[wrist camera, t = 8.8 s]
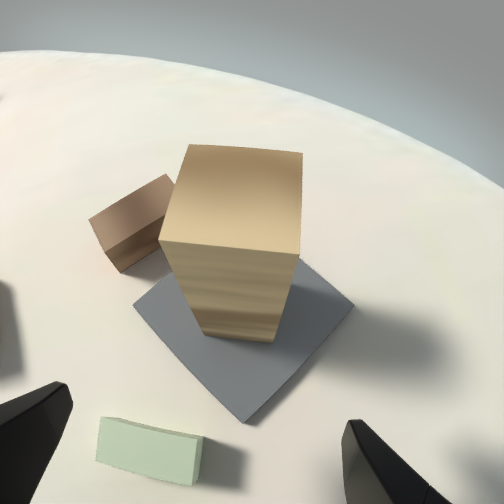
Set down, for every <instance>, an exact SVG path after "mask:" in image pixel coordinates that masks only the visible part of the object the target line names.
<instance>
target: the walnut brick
mask: <svg viewBox="0 0 504 504" xmlns="http://www.w3.org/2000/svg"><path fill="white" fill-rule="evenodd" d="M174 187H175V184H174V183H173V182H172V181H171V179H170V178H169V177H168V176H167V174H164V175H162V176H161V177H159V178H157V179H155V180H153V181H152V182H150V183H148V184H146V185H145V186H143V187H141V188H139V189H138V190H136V191H134V192H133V193H131V194H129V195H128V196H126V197H124V198H122V199H121V200H119V201H118V202H116V203H114V204H113V205H111V206H109V207H108V208H106V209H105V210H103V211H101V212H100V213H98V214H97V215H95V216H93V217H92V218H90V219H89V222H90V224H91V226H92V228H93V230H94V232H95V234H96V236H97V239H98V241H99V243H100V245H101V247H102V249H103V251H104V253H105V254H106V255H107V257H108V258H109V259H110V261H111V262H112V263H113V265H114V266H115V267H116V268H117V270H118V271H119V272H120V273H121V272H122V271H124V270H125V269H127V268H128V267H130V266H132V265H133V264H135V263H136V262H138V261H139V260H141V259H143V258H144V257H146V256H147V255H149V254H150V253H152V252H154V251H155V250H157V249H158V248H160V247H161V245H160V243H159V241H158V239H159V235H160V232H161V228H162V225H163V222H164V218H165V215H166V212H167V209H168V205H169V202H170V199H171V196H172V193H173V190H174Z"/></svg>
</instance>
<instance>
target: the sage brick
mask: <svg viewBox="0 0 504 504" xmlns="http://www.w3.org/2000/svg"><path fill="white" fill-rule="evenodd" d="M203 439H204V436H198V435H192V434H186V433H181V432H176V431H171V430H166V429H161V428H157V427H152V426H148V425H144V424H140V423H136V422H132V421H128V420H124V419H121V418H112V417H101V420H100V427H99V434H98V442H97V451H96V459H95V461H97V462H100V463H103V464H106V465H109V466H112V467H115V468H119V469H122V470H125V471H129V472H132V473H136V474H139V475H143V476H147V477H151V478H155V479H159V480H163V481H168V482H172V483H177V484H182V485H187V486H192V485H193V484H194V483H195V482H196V480H197V479H198V478H199V472H200V463H201V455H202V447H203Z"/></svg>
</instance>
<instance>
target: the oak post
mask: <svg viewBox="0 0 504 504" xmlns="http://www.w3.org/2000/svg"><path fill="white" fill-rule="evenodd" d="M302 160H303V153H298V152H289V151H279V150H269V149H258V148H246V147H232V146H215V145H193V144H189V146H188V149H187V152H186V154H185V157H184V160H183V163H182V166H181V169H180V172H179V175H178V178H177V181H176V184H175V187H174V190H173V193H172V196H171V199H170V202H169V205H168V209H167V212H166V215H165V218H164V222H163V225H162V228H161V232H160V235H159V239H158V241H159V243H160V245H161V247H162V250H163V252H164V254H165V256H166V258H167V261H168V263H169V265H170V267H171V269H172V271H173V273H174V276H175V278H176V280H177V282H178V284H179V286H180V288H181V290H182V292H183V294H184V296H185V298H186V300H187V302H188V304H189V306H190V308H191V310H192V312H193V314H194V316H195V318H196V320H197V322H198V324H199V326H200V328H201V330H202V332H203V334H204V335H207V336H215V337H223V338H231V339H239V340H248V341H257V342H267V343H273V341H274V338H275V334H276V331H277V328H278V325H279V322H280V319H281V315H282V312H283V309H284V306H285V302H286V299H287V296H288V292H289V289H290V286H291V282H292V279H293V276H294V272H295V269H296V265H297V262H298V259H299V255H300V236H301V207H302Z"/></svg>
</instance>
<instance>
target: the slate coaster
mask: <svg viewBox="0 0 504 504" xmlns="http://www.w3.org/2000/svg"><path fill="white" fill-rule="evenodd" d="M353 306H354V304H353V303H351V302H350V301H349V300H348V299H347V298H346V297H344V296H343V295H342V294H341V293H340V292H338V291H337V290H336V289H335V288H334V287H333V286H331V285H330V284H329V283H328V282H327V281H325V280H324V279H323V278H322V277H321V276H320V275H318V274H317V273H316V272H315V271H314V270H312V269H311V268H310V267H309V266H308V265H306V264H305V263H304V262H303V261H302V260H300V259H298V262H297V265H296V269H295V272H294V276H293V279H292V282H291V286H290V289H289V292H288V296H287V299H286V302H285V306H284V309H283V312H282V315H281V319H280V322H279V325H278V328H277V331H276V334H275V338H274V341H273V343H267V342H257V341H248V340H239V339H231V338H223V337H215V336H207V335H204V334H203V332H202V330H201V328H200V326H199V324H198V322H197V320H196V318H195V316H194V314H193V312H192V310H191V308H190V306H189V304H188V302H187V300H186V298H185V296H184V294H183V292H182V290H181V288H180V286H179V284H178V282H177V280H176V278H175V276H174V273H173V271H171V272H170V273H169V274H168V275H167V276H166V277H164V278H163V279H162V280H161V281H160V282H158V283H157V284H156V285H155V286H154V287H153V288H151V289H150V290H149V291H148V292H147V293H146V294H144V295H143V296H142V297H141V298H140V299H139V300H137V301H136V302H135V303H134V304H133V307H134V308H135V309H136V310H137V312H138V313H139V314H140V315H141V316H142V318H143V319H144V320H145V321H146V322H147V324H148V325H149V326H150V327H151V328H152V330H153V331H154V332H155V333H156V334H157V335H158V337H159V338H160V339H161V340H162V341H163V342H164V343H165V345H166V346H167V347H168V348H169V349H170V350H171V351H172V352H173V353H174V355H175V356H176V357H177V358H178V359H179V360H180V361H181V362H182V363H183V364H184V366H185V367H186V368H187V369H188V370H189V371H190V372H191V373H192V374H193V375H194V376H195V377H196V378H197V379H198V380H199V381H200V382H201V383H202V384H203V385H204V387H205V388H206V389H207V390H208V391H209V392H210V393H211V394H212V395H213V396H214V397H215V398H216V399H217V400H218V401H219V402H220V403H221V404H222V405H223V406H225V407H226V408H227V409H228V410H229V411H230V412H231V413H232V414H233V415H234V416H235V417H236V418H237V419H238V420H239V421H240V422H241V423H242V424H243V423H244V422H245V421H246V420H247V419H248V418H249V417H250V416H251V415H252V414H254V413H255V412H256V411H257V410H258V409H259V408H260V407H261V406H262V405H263V404H264V403H265V402H266V401H267V400H268V399H269V398H270V397H271V396H272V395H273V394H274V393H275V392H276V391H277V390H278V389H279V388H280V387H281V386H282V385H283V384H284V383H285V382H286V381H287V380H288V379H289V378H290V377H291V376H292V375H293V373H294V372H295V371H296V370H297V369H298V368H299V367H300V366H301V365H302V364H303V363H304V362H305V361H306V360H307V359H308V357H309V356H310V355H311V354H312V353H313V352H314V351H315V350H316V349H317V348H318V346H319V345H320V344H321V343H322V342H323V341H324V340H325V339H326V338H327V336H328V335H329V334H330V333H331V332H332V331H333V330H334V328H335V327H336V326H337V325H338V324H339V323H340V321H341V320H342V319H343V318H344V317H345V316H346V314H347V313H348V312H349V311H350V310H351V308H352V307H353Z"/></svg>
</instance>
